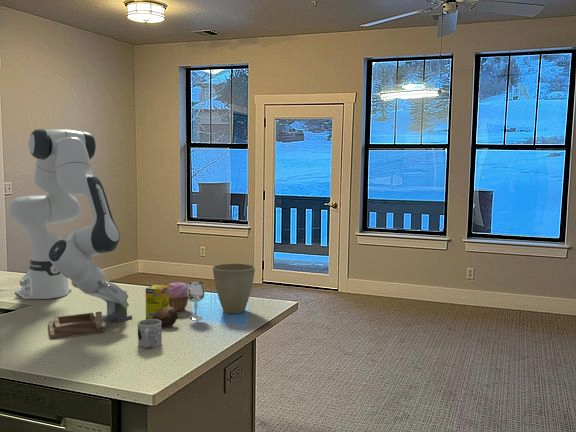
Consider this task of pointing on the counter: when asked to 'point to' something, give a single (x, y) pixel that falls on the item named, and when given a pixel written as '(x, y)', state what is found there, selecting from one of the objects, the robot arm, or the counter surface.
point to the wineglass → (195, 296)
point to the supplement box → (156, 299)
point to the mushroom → (166, 316)
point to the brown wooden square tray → (76, 325)
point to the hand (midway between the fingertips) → (118, 303)
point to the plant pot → (233, 285)
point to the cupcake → (178, 295)
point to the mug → (149, 333)
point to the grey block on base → (116, 312)
